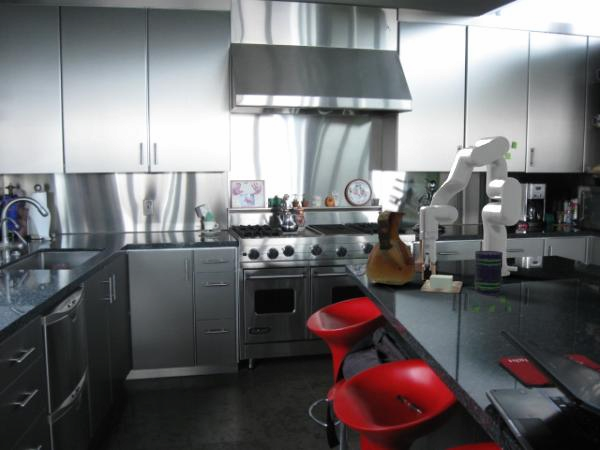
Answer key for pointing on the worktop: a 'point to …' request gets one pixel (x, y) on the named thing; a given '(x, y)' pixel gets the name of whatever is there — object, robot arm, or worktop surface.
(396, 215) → the ceramic pitcher
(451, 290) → the build board
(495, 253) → the storage jar
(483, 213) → the robot arm
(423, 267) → the terracotta brick
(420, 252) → the wooden block
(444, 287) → the sage base brick
